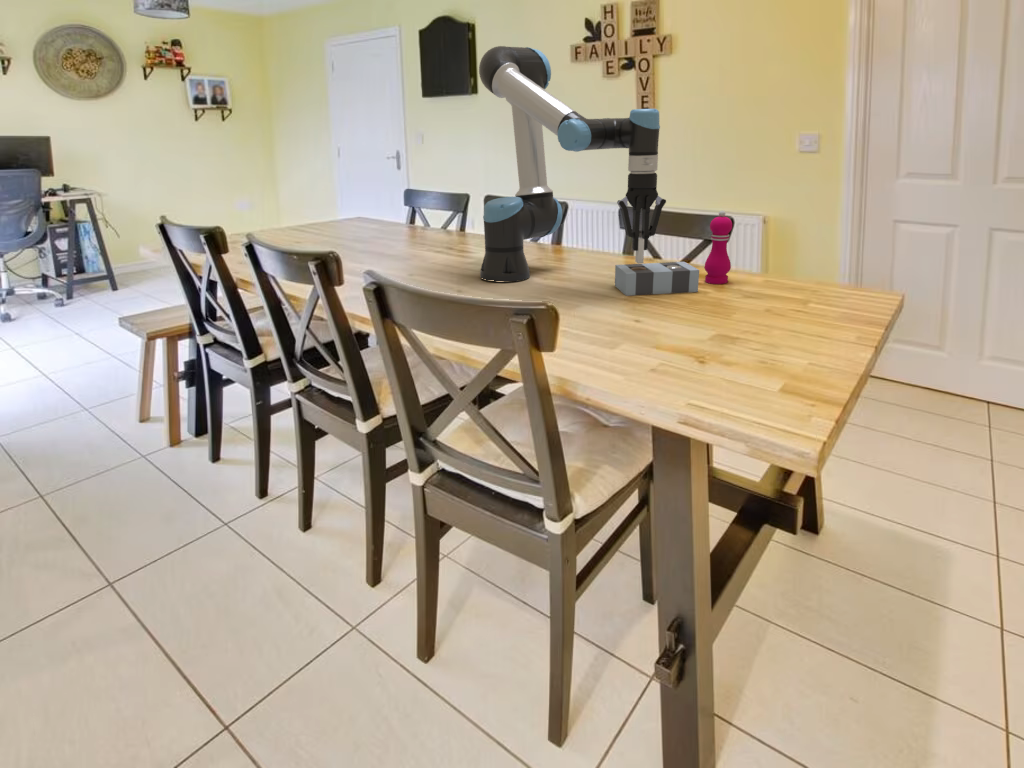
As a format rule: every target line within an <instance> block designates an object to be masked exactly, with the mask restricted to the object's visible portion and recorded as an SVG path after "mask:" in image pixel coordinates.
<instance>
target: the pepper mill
mask: <svg viewBox="0 0 1024 768" xmlns="http://www.w3.org/2000/svg"><path fill="white" fill-rule="evenodd" d="M732 229H733V222H732V220H731V219H730V218H729V217H728V216H726V211H725V210H720V211H719V212H718V216H717V217H714V218H713V219H712V220H711V222H710V223H709V230H710V231H711V233H712V234H710V240H711V249H710V252H709V255H708V256H707V258H706V260H705V263H704V270H705V271H706V273H707V274H706V275H705V278H704V281H705V283H707V284H712V285H722V284H727V283H728V281H729V276H728V275H727V274H728V273H729V272H730V270H731V267H732V265H731V264H732V263H731V259H730V256H729V254H728V250H727V249H728V247H727V246H728V241H729V240H730V234H729V233H730V232H731V231H732Z"/></svg>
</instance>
